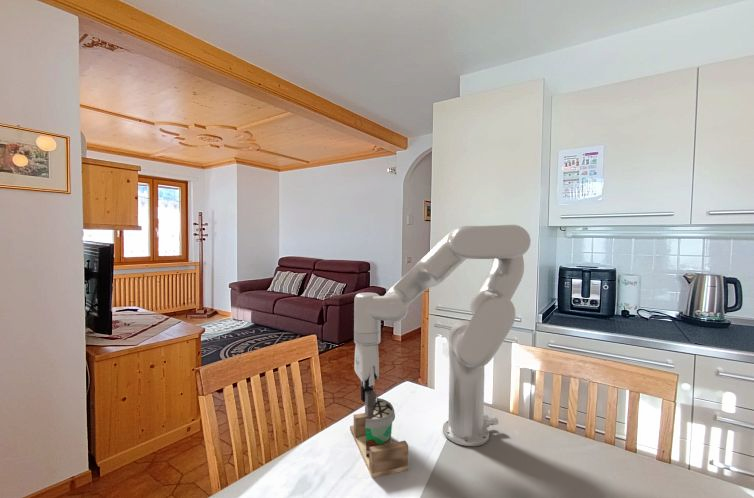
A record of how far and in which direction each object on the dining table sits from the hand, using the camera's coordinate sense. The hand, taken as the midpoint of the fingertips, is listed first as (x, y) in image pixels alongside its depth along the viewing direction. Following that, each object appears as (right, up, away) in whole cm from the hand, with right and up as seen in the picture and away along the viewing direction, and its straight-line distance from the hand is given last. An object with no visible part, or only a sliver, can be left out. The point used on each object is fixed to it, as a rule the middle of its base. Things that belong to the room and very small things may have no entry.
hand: (367, 400), depth 99 cm
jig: (+3, -9, -8) cm, 12 cm away
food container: (+4, -8, -10) cm, 13 cm away
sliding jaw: (+1, -7, -3) cm, 8 cm away
